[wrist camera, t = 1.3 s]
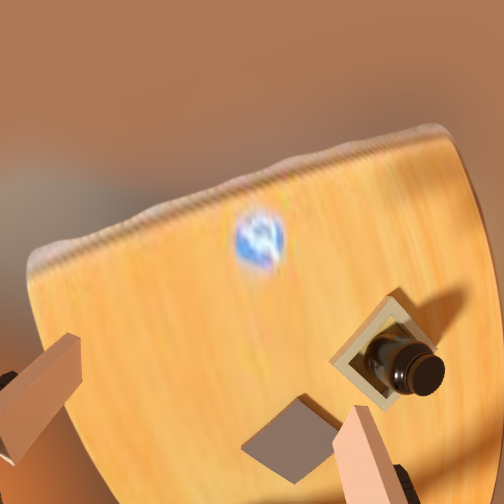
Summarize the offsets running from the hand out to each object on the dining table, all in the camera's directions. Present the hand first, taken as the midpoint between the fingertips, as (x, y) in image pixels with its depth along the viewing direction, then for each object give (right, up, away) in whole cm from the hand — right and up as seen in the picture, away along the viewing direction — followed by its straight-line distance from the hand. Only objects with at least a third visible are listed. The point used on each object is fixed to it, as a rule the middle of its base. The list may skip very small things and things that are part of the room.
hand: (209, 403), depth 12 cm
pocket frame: (+21, -8, +26) cm, 34 cm away
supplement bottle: (+21, -8, +27) cm, 34 cm away
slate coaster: (+8, -21, +25) cm, 33 cm away
